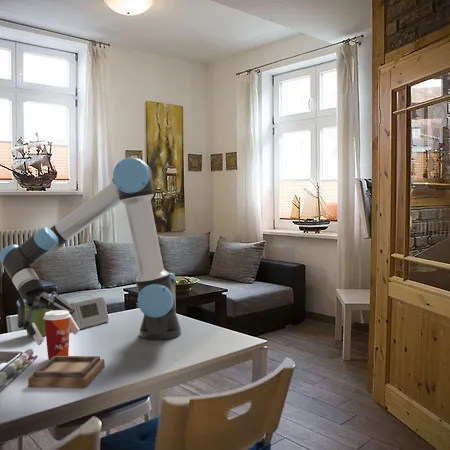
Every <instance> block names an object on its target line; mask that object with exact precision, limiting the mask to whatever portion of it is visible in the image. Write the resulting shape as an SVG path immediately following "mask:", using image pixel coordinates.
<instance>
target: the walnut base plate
mask: <svg viewBox="0 0 450 450" xmlns="http://www.w3.org/2000/svg"><path fill="white" fill-rule="evenodd" d="M103 368H104V369H105V358H101V356H99V355H98V356H97V355H96V356H95V355H93V356H91V355H88V356H87V355H68V356H53V357H52V358H51V359H49V360H48V359H47V361H46V362H45V363H43V364H42V365H41V366H39V367H38V368H37V369H36V370H35V371H33V372H32V374H31V375H30V376H28V378H27V387H28V388H66V389H67V388H72V389H83V388H84V389H86V388H88V387H89V386H90V384H91V383H92V382H93V381H94V380H95V379H96V377H97V376H99V374H100V373H101V372H102V371H103V370H104V369H103ZM102 369H103V370H102Z"/></svg>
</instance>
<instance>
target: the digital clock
mask: <svg viewBox="0 0 450 450" xmlns="http://www.w3.org/2000/svg"><path fill="white" fill-rule="evenodd" d="M69 305H71V306H72V307H73V308H75V312H74V313H73V314H72V315H73V316H74V318H75V320H76V324H77V326H78V327H79V329H80V330H82V329H87V328H88V329H89V328H92V327H96V326H99V324H100V325H102V324H104V323H107V322H109V320H110V319H109V314H108V313H109V312H108V311H107V307H106V306H107V305H106V303H105V299H104V297H103V296H102V295H100V296H99V295H98V296H93V297H89V298H88V297H87V298H83V299H79V300H75V301H71V302H70V304H69Z"/></svg>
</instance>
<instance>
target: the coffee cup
mask: <svg viewBox="0 0 450 450" xmlns="http://www.w3.org/2000/svg"><path fill="white" fill-rule="evenodd" d="M70 317H71V315H70V314H69V311H67V310H54V311H53V310H51V311H49V312H46V313H45V316H44V317H43V319H45V330H46V335H45V339H46V348H47V349H46V350H47V351H46V352H47V361H48V360H49V359H51V358H52V357H53V356H69V354H70V353H69V350H70V349H69V348H70V327H69V324H70Z"/></svg>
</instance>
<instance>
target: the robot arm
mask: <svg viewBox="0 0 450 450" xmlns="http://www.w3.org/2000/svg"><path fill="white" fill-rule="evenodd" d="M152 182H153V172H152V169H151V167H150V166H149V165H148V164H147V163H146V162H145V161H143V160H142V159H141V158H138V157H134V156H133V157H127V158H124V159H123V158H122V159H121V160H119V161H118V163H117V164H116V165H115V167H114V168H113V172H112V178H111V181H110V184H108V185H107V186H106V187H104V188H103V189H102V190H100V191H99V192H97V193H96V194H94V195H93V196H92V197H90V198H89V199H88V200H86V201H85V202H83V204H81V205H79V206H78V207H77V208H75V210H73V211H72V212H70V213H69V214H67V215H66V216H65V217H63V218H61V220H59V221H58V222H57V223H55V224H54V225H52V226H51V227H50V228H49V227H47V226H43V227H41V228H40V229H38V230H36V231H35V232H34V233H33V234H32V235H31V236H30V237H28V239H26V240H25V241H23V242H22V243H21V244H20V245H18V244H9V245H8V246H6V247H3V248H2V249H1V251H0V262H1V265H2V267H3V269H5V271H6V273H7V275H8V276H9V278H10V279H11V281H12V284H13V285H14V286H15V289H16V290H17V291H18V295H20V297H19V298H18V299H17V301H16V303H15V306H16V308H17V328H19V329H21V328H22V329H23V330H25V331H26V332H27V331H28V333H29V334H30V335H31V336H33V337H32V338H33V339H34V341H35V343H36V345H37V346H40V345H42V344H43V342H44V341H45V340H44V336H42V335H41V334H40V332H39V330H38V329H37V327H36V325H35V323H32V324H31V321H32V318H33V315H34V311H35V310H39V309H45V308H47V309H51V311H54V310H67V311H69V314H70V315H71V317H70V324H69V330H70V331H71V332H72V334H73V335H77V334H78V332H79V331H80V330H81V329H79V327H78V326H77V324H76V320H75V318H74V316H73V315H72V314H73V313H74V312H75V308H73V307H72V306H71V305H70V304H69V302H68V301H67V300H66V301H67V302H68V303H67V302H66V301H64V300H63V299H64V298H62V297H61V296H59V295H58V293H57V292H56V291H55V290H54V291H52V293H47V292H46V289H45V286H44V285H43V283H42V281H41V280H40V278H39V276H38V274H37V273H36V271H35V269H34V268H33V266H32V265H34V264H35V263H37V261H38V260H40V259H41V258H42V257H44V256H45V255H47V254H49V253H52V252H56V251H59V250H60V249H61V248H62V247H63V246H64V245H65V244H66V243H68V242H69V241H70V240H72V238H74V237H75V236H77V235H78V234H80V233H81V232H82V231H84V230H85V229H86V228H88V227H89V226H90V225H92V224H93V223H95V222H96V221H98V220H99V219H100V218H101V217H103V216H104V215H105V214H107V213H108V212H110V211H111V210H112V209H114V208H115V207H117V206H119V204H120V203H122V204H124V206H125V209H126V214H127V220H128V221H127V222H128V226H129V231H130V234H131V242H132V245H133V250H134V256H135V261H136V265H137V266H136V267H137V271H138V276H136V279H135V284H136V290H137V295H138V296H137V301H136V302H137V305H138V308H139V310H140V311H141V312H142V314H143V317H142V321H141V323H140V328H139V337H141V338H142V339H145V340H146V339H147V340H151V341H152V340H153V341H155V340H156V341H157V340H158V341H160V340H169V339H174V338H177V337H179V336H180V335H182V328H181V324H180V321H179V318H178V315H177V310H176V309H177V308H176V307H177V306H176V282H177V279H176V275H175V273H173V272H169V271H167V270H166V269H165V268H164V264H163V263H164V262H163V258H162V253H161V247H160V243H159V242H160V241H159V237H158V232H157V227H156V222H155V216H154V212H153V207H152V199H153V197H154V196H155V193H154V188H153V183H152ZM48 303H50V304H49V305H48ZM25 304H26V305H28V306H30V307H29V311H28V315H27V318H26V321H25ZM26 329H27V330H26Z"/></svg>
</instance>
